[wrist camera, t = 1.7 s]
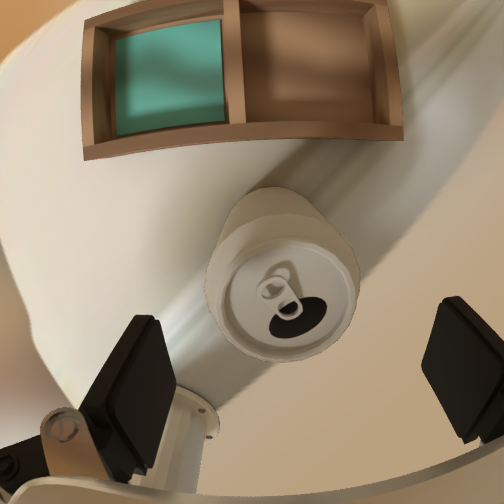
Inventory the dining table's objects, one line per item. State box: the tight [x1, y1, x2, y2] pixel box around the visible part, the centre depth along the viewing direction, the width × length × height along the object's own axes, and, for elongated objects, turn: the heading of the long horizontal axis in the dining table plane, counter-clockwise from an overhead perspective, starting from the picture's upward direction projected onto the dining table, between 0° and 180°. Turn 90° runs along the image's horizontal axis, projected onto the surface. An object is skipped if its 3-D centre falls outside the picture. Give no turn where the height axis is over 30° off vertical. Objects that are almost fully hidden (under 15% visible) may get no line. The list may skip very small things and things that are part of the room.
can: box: [204, 186, 360, 363], centre depth 18 cm, size 8×8×12 cm
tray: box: [81, 0, 404, 161], centre depth 17 cm, size 12×22×4 cm, turn 93°
